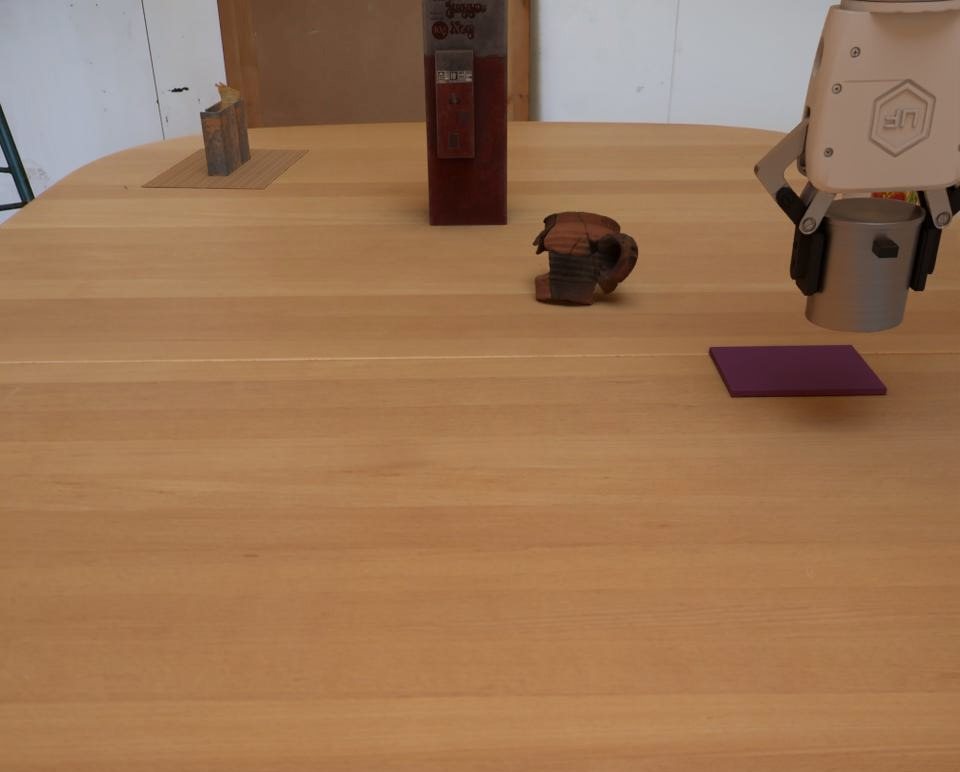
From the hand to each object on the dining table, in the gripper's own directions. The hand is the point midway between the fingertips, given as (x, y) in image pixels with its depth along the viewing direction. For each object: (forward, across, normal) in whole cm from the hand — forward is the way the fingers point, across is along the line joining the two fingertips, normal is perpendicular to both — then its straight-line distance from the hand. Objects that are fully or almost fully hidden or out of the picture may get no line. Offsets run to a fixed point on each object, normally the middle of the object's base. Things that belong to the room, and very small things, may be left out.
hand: (858, 285), depth 77 cm
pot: (+2, 0, 0) cm, 2 cm away
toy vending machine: (+10, -27, +62) cm, 68 cm away
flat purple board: (+10, -1, +10) cm, 14 cm away
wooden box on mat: (+9, -60, +92) cm, 110 cm away
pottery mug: (+10, -16, +32) cm, 37 cm away
